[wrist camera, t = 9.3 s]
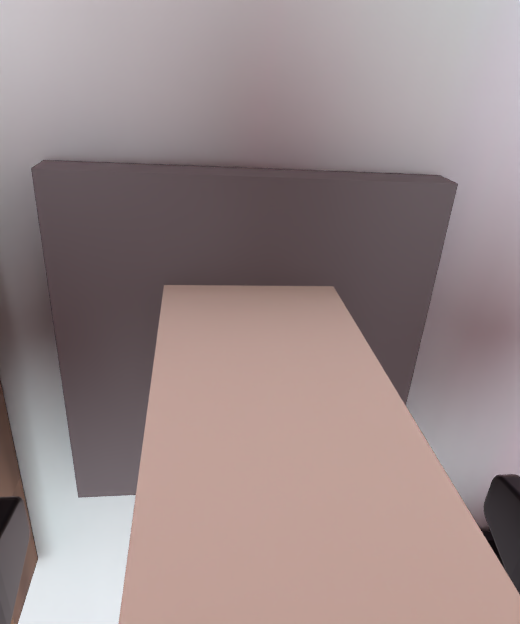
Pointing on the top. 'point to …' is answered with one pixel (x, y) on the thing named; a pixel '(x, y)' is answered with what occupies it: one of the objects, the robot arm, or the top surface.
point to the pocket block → (7, 482)
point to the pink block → (293, 478)
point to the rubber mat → (217, 272)
